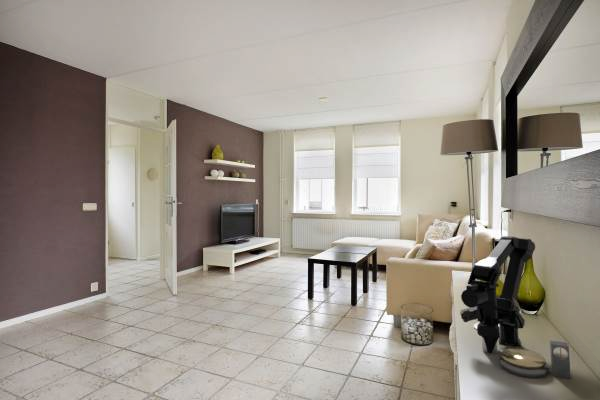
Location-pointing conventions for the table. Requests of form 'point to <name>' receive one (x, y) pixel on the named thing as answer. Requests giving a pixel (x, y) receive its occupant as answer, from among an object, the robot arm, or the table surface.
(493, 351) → the cylinder
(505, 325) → the robot arm
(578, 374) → the table surface
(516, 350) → the pan
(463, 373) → the table surface
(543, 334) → the table surface
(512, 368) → the base
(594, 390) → the table surface
